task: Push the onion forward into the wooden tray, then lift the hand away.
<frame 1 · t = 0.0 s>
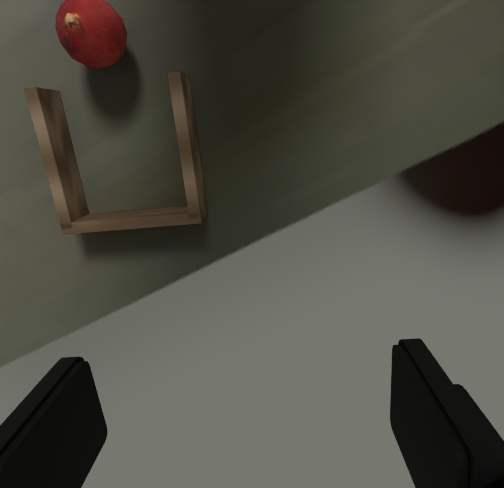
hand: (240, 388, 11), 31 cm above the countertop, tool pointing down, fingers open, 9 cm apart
onion: (110, 42, 36), on the countertop
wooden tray: (131, 153, 40), on the countertop
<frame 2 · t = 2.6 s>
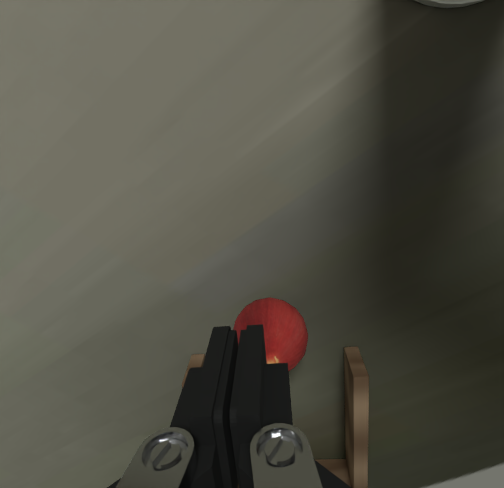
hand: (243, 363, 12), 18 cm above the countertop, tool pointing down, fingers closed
onion: (269, 310, 32), on the countertop
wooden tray: (278, 411, 35), on the countertop
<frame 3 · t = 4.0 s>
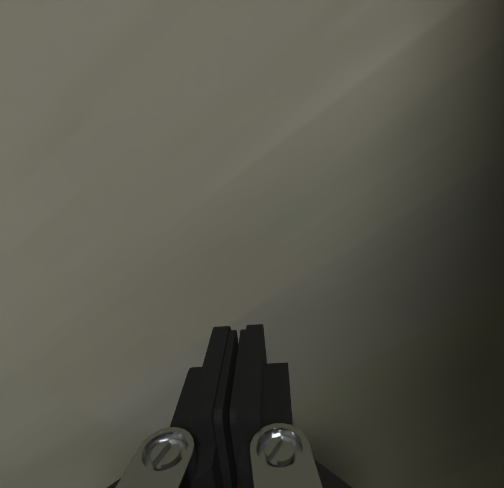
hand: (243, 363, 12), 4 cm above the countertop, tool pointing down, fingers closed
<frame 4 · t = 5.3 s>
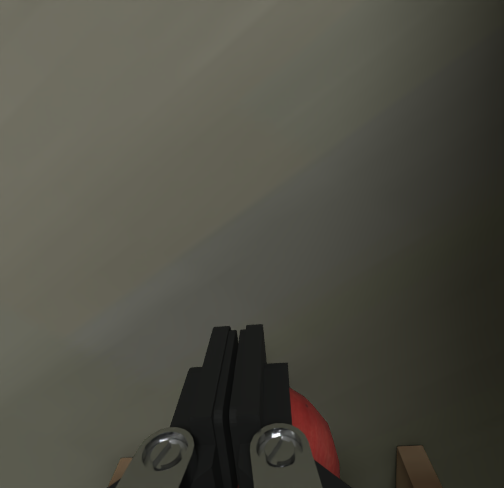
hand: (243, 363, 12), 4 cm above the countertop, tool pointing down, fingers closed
onion: (260, 390, 17), on the countertop, touching gripper
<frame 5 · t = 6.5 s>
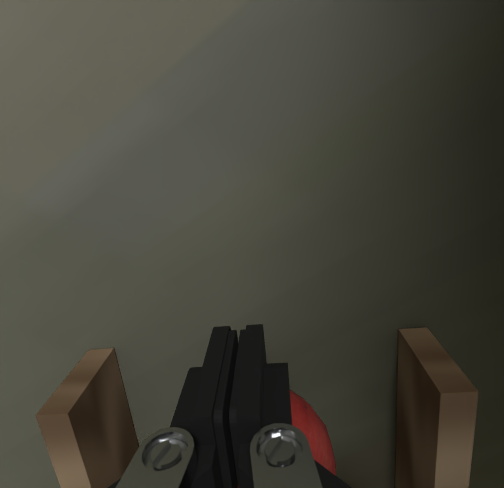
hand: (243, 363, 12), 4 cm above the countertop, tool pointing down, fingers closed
onion: (258, 390, 17), on the countertop, touching gripper
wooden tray: (266, 459, 18), on the countertop
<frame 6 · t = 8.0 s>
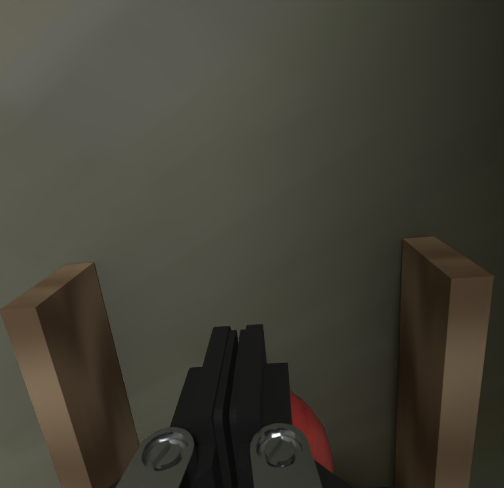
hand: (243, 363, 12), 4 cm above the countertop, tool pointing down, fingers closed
onion: (256, 390, 17), on the countertop, touching gripper
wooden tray: (258, 390, 17), on the countertop
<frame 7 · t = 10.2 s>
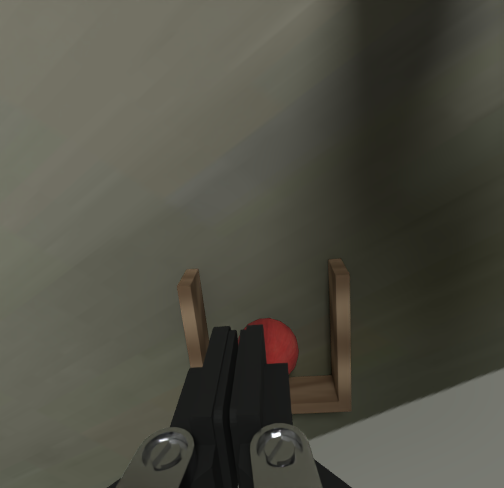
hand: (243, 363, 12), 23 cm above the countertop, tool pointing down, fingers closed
onion: (267, 327, 38), on the countertop
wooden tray: (268, 326, 37), on the countertop
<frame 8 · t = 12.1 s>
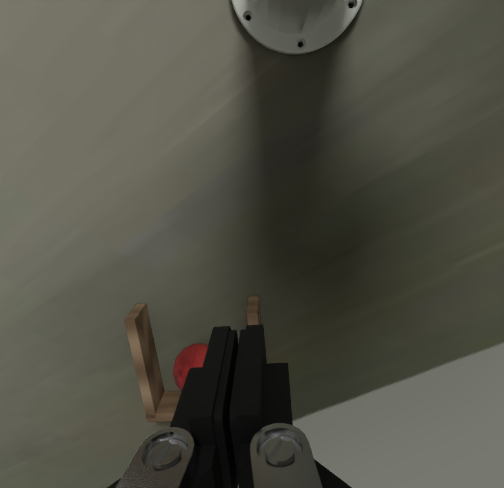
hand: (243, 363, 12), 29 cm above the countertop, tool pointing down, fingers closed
onion: (203, 349, 46), on the countertop
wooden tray: (204, 348, 46), on the countertop
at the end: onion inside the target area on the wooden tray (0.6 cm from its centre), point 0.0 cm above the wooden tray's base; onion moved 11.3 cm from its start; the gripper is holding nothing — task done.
